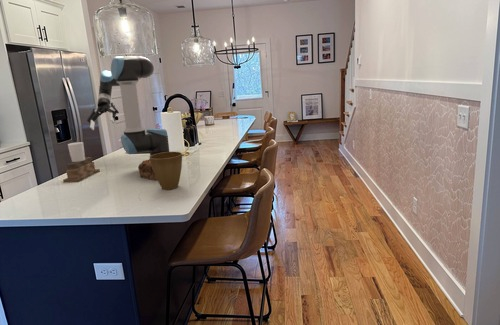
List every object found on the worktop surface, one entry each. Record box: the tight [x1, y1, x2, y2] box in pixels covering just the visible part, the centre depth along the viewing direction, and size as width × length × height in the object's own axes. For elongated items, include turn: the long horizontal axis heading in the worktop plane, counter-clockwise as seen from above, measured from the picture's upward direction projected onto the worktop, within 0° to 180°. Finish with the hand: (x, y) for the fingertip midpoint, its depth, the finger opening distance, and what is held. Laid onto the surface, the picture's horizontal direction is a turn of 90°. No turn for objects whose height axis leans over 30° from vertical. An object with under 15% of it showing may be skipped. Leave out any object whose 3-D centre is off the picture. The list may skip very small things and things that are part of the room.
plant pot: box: [148, 151, 183, 191], centre depth 156 cm, size 15×15×16 cm
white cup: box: [67, 141, 86, 163], centre depth 188 cm, size 8×8×10 cm
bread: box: [138, 158, 158, 182], centre depth 178 cm, size 19×11×10 cm, turn 51°
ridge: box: [62, 156, 100, 183], centre depth 191 cm, size 22×9×10 cm, turn 176°
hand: (102, 125), depth 203 cm, fingers open, 13 cm apart
